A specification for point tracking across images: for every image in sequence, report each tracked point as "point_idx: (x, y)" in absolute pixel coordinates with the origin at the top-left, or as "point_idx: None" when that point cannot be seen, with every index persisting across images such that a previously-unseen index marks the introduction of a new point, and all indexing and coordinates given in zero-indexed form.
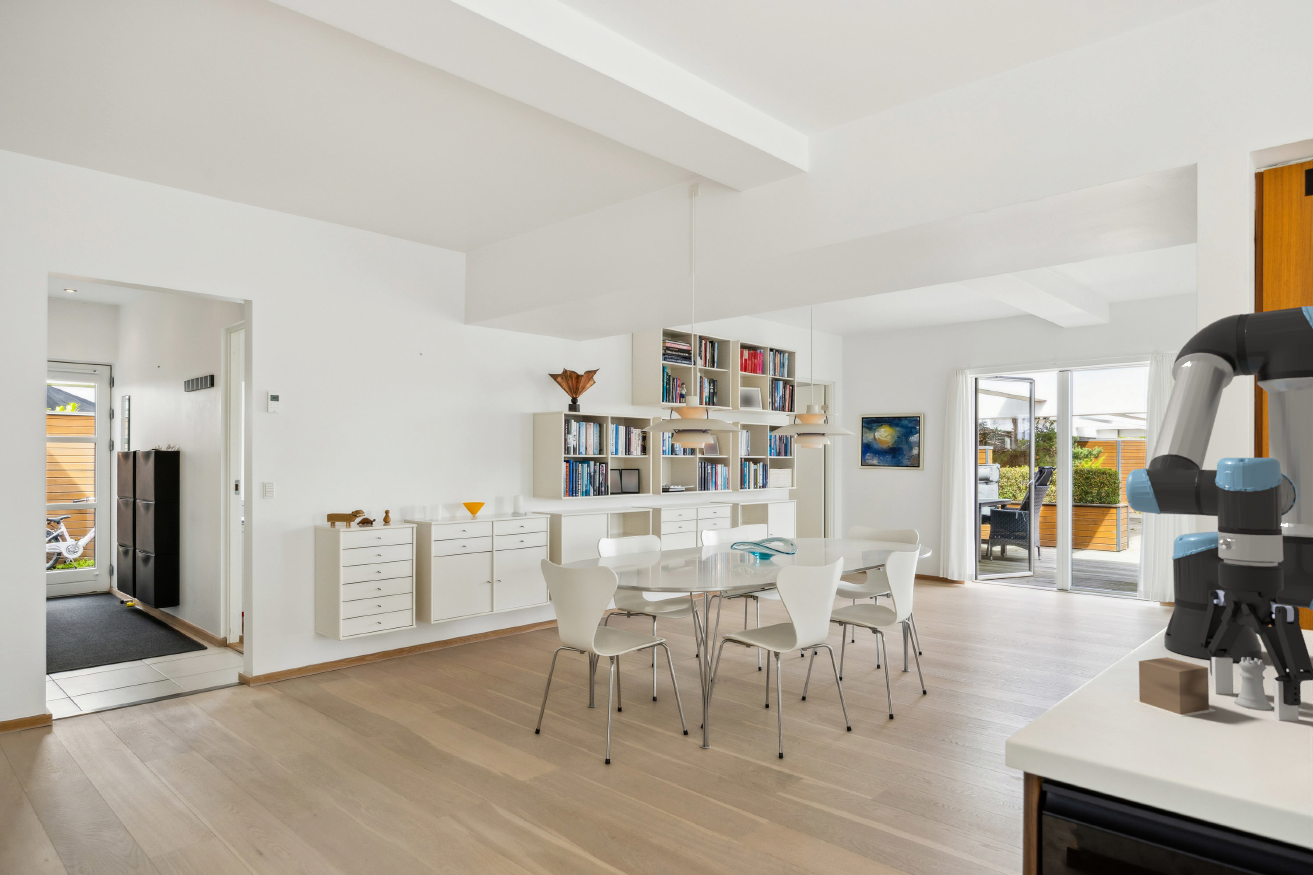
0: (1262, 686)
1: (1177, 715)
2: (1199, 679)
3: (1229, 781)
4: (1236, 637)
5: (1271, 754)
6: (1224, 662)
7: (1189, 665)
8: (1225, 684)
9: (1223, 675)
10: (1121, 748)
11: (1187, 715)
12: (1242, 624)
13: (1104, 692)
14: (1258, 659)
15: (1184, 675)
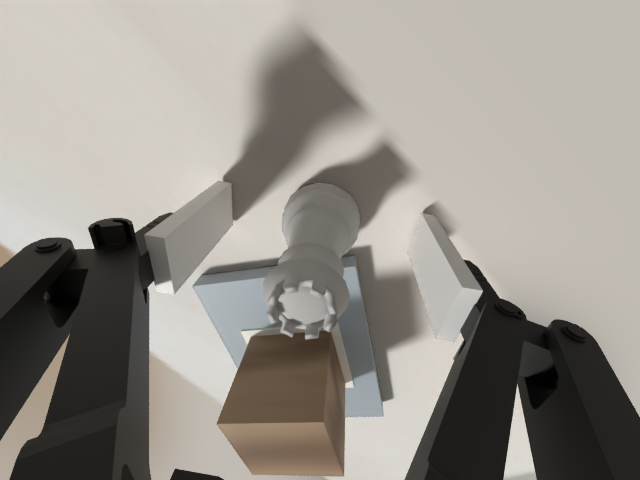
0: (339, 249)
1: (346, 386)
2: (332, 411)
3: (523, 449)
4: (132, 320)
5: None
6: (178, 256)
7: (297, 436)
8: (213, 219)
9: (202, 238)
10: (402, 460)
11: (351, 377)
12: (127, 431)
13: (181, 355)
14: (298, 285)
15: (341, 455)
